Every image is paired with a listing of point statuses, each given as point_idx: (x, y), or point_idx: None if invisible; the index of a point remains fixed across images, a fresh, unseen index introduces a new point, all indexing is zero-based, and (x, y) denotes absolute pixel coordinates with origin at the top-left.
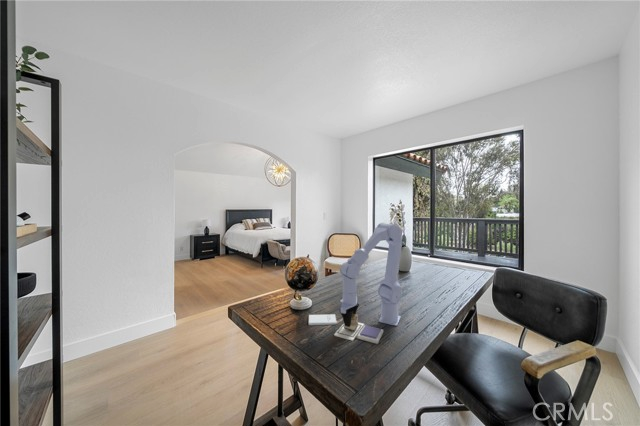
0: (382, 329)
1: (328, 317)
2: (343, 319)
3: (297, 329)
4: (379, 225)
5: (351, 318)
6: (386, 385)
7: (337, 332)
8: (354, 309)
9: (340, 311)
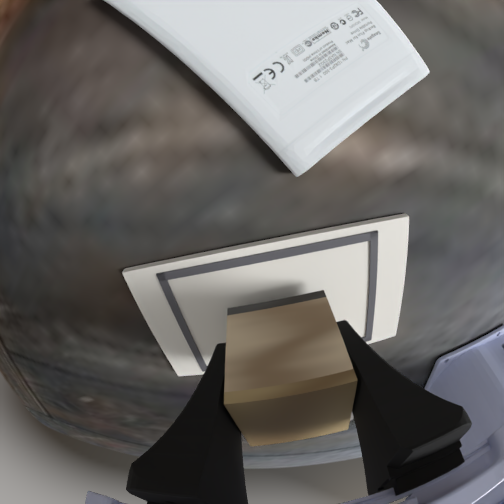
0: (353, 417)
1: (334, 39)
2: (195, 392)
3: (22, 19)
4: None
5: (247, 436)
6: (114, 449)
7: (161, 278)
8: (365, 452)
9: (132, 476)
